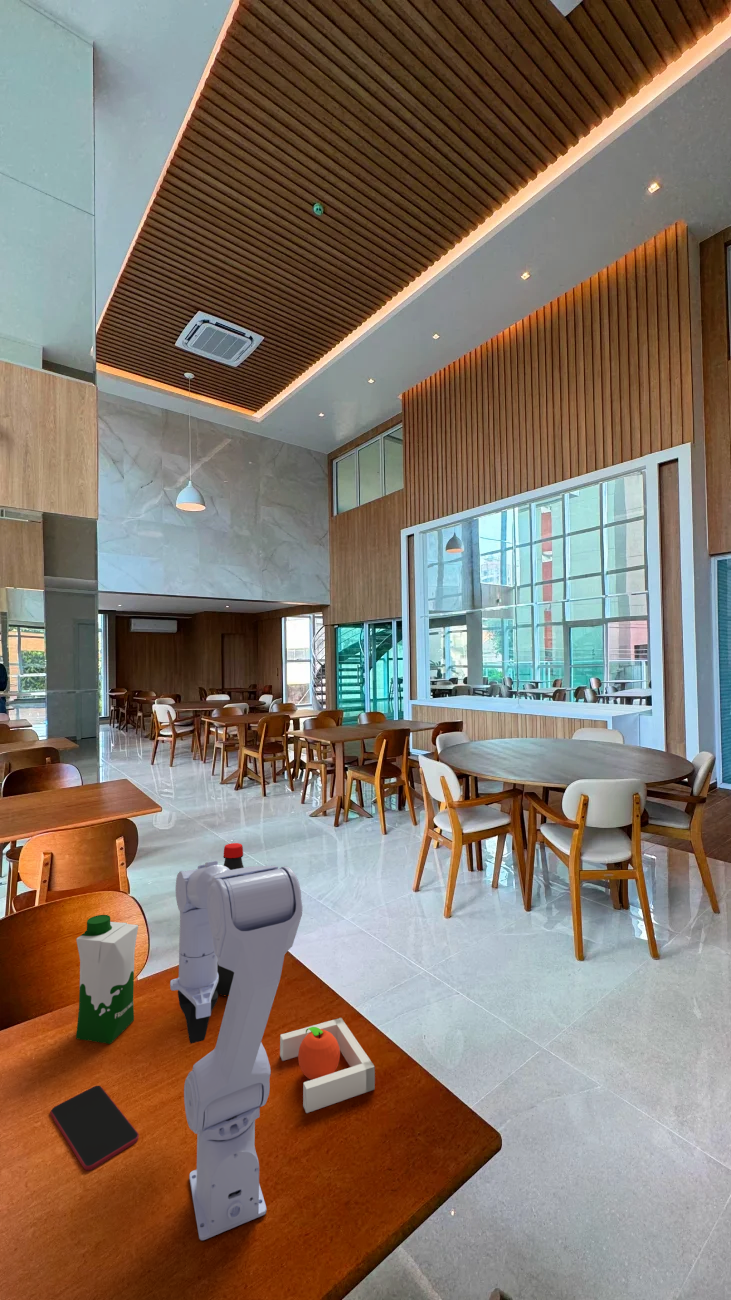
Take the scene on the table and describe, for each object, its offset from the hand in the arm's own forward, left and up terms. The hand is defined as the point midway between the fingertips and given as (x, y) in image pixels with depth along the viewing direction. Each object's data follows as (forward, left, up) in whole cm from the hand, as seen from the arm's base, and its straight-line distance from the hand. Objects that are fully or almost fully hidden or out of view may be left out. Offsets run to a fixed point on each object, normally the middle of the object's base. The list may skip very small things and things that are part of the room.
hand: (196, 1039), depth 84 cm
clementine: (-1, -19, -11) cm, 22 cm away
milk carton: (+27, +12, -11) cm, 31 cm away
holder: (-1, -21, -10) cm, 23 cm away
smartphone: (+3, +14, -11) cm, 18 cm away
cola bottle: (+31, -12, -11) cm, 35 cm away
